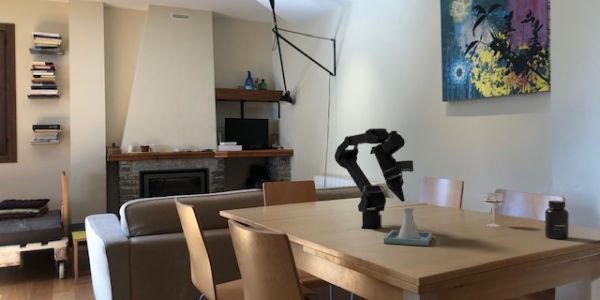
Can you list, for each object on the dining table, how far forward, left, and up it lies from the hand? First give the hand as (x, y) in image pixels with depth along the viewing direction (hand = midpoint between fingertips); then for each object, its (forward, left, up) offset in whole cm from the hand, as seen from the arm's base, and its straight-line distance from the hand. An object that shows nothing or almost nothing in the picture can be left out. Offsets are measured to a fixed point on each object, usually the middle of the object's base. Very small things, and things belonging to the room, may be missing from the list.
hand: (403, 199), depth 164 cm
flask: (+4, -11, -12) cm, 17 cm away
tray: (+3, -11, -12) cm, 17 cm away
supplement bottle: (+48, +8, -12) cm, 51 cm away
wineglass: (+29, +26, -12) cm, 41 cm away
